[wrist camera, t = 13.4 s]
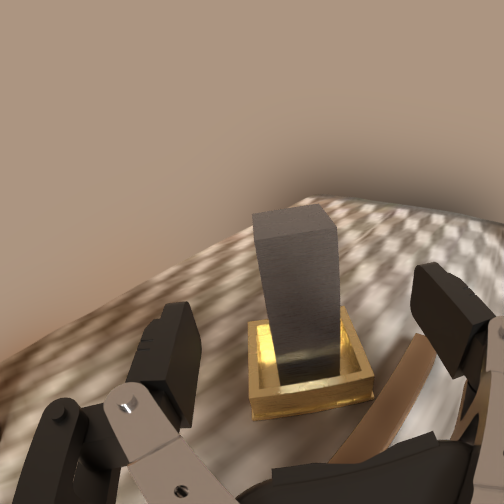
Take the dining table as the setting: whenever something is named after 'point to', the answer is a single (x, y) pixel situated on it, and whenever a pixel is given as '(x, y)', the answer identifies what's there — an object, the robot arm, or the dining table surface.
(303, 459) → the dining table surface
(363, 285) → the dining table surface
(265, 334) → the keeper
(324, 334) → the stop bar
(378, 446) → the door edge strip
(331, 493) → the robot arm
